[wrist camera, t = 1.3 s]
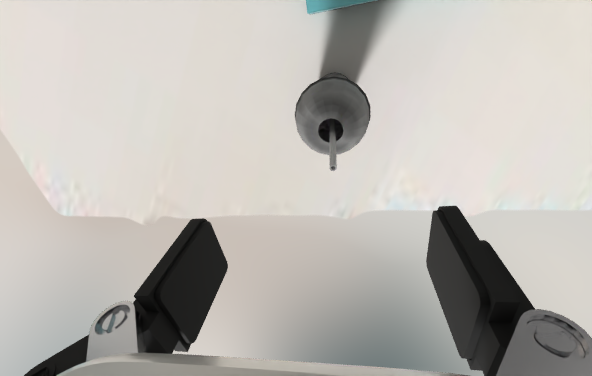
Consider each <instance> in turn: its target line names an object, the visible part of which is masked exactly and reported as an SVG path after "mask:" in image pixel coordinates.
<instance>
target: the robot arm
mask: <svg viewBox="0 0 592 376" xmlns="http://www.w3.org/2000/svg"><path fill="white" fill-rule="evenodd" d="M426 262H427V268H428V271H429V274H430V277H431V279H432V282H433V285H434V288H435V290H436V293H437V296H438V298H439V301H440V304H441V306H442V309H443V312H444V315H445V317H446V320H447V323H448V325H449V328H450V331H451V333H452V336H453V339H454V341H455V344H456V347H457V350H458V352H459V355H460V356H461V358H466V359H467V361H468V364H469V366H470V369H471V370H482V371H483V373H484V376H592V338H591V337H590V336H589V335H588V334H587V332H586V331H585V330H584V329H582V328H581V327H580V326H579V325H577V324H576V323H575V322H573V321H571V320H569V319H568V318H566V317H564V316H562V315H559V314H556V313H554V312H551V311H546V310H541V309H537V310H535V308H534V307H533V306H532V304H531V303H530V301H529V300H528V298H527V297H526V295H525V294H524V293H523V291H522V290H521V288H520V287H519V285H518V284H517V283H516V281H515V280H514V278H513V277H512V275H511V274H510V272H509V271H508V269H507V268H506V267H505V265H504V264H503V262H502V261H501V260H500V258H499V257H498V255H497V254H496V252H495V251H494V250H493V248H492V247H491V245H490V244H489V243H488V242H487V241H484V240H483V241H480V240H479V238H478V237H477V235H476V234H475V233H474V231H473V229H472V228H471V227H470V225H469V223H468V222H467V220H466V219H465V217H464V216H463V214H462V213H461V211H460V210H459V208H458V207H457V206H442V207H439V208H438V211H433V214H432V222H431V230H430V237H429V245H428V252H427V261H426ZM227 268H228V264H227V261H226V258H225V256H224V254H223V251H222V249H221V247H220V245H219V242H218V240H217V237H216V235H215V233H214V230H213V228H212V225H211V223H210V222H207V220H206V219H192V220H190V222H189V223H188V224H187V226H186V227H185V228H184V230H183V231H182V232H181V234H180V235H179V236H178V238H177V239H176V240H175V242H174V243H173V244H172V246H171V247H170V248H169V250H168V251H167V252H166V254H165V255H164V256H163V258H162V259H161V260H160V262H159V263H158V264H157V265H156V267H155V268H154V269H153V271H152V272H151V273H150V275H149V276H148V277H147V279H146V280H145V282H144V283H143V284H142V285H141V287H140V288H139V290H138V291H137V292H136V293H135V295H134V297H135V298H136V300H135V301H134V303H132V302H130V301H122V302H118V303H116V304H113V305H112V306H110V307H108V308H107V309H106V310H104V311H103V312H102V313H101V314H100V315H99V316H98V317H97V318H96V319H95V320H94V322H93V324H92V325H91V328H90V331H89V335H88V336H86V337H84V338H82V339H81V340H79V341H77V342H76V343H74V344H72V345H71V346H69V347H67V348H66V349H64V350H62V351H60V352H59V353H57V354H55V355H54V356H52V357H50V358H49V359H47V360H45V361H43V362H42V363H40V364H38V365H37V366H35V367H34V368H33V369H31V370H30V371H29V372H28V373H27V374H25V375H24V376H468V375H460V374H453V373H443V372H431V371H420V370H409V369H397V368H383V367H369V366H355V365H340V364H327V363H312V362H296V361H281V360H266V359H251V358H234V357H219V356H201V355H183V354H172V353H173V350H175V351H183V352H188V350H189V347H190V345H191V343H194V342H195V340H196V338H197V336H198V334H199V332H200V329H201V327H202V325H203V323H204V321H205V318H206V316H207V314H208V312H209V310H210V307H211V305H212V303H213V301H214V298H215V296H216V294H217V292H218V289H219V287H220V285H221V283H222V281H223V278H224V276H225V274H226V272H227Z"/></svg>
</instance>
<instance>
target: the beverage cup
mask: <svg viewBox="0 0 592 376" xmlns="http://www.w3.org/2000/svg"><path fill="white" fill-rule="evenodd" d="M295 119H296V125H297V130H298V133H299V135H300V136H301V138H302V140H303V141H304V142H305V143H306V144H307V145H308V146H309V147H310V148H311V149H313V150H315V151H316V152H318V153H321V154H327V155H330V170H331V171H335V170H336V168H337V165H336V154H341V153H344V152H346V151H349V150H350V149H351V148H353V147H354V146H355V145H357V144H358V143H359V142H360V140H361V139H362V137H363V136H364V134H365V133H366V130H367V127H368V124H369V121H370V104H369V102H368V99H367V96H366V94H365V93H364V92H363V90H362V89H361V88H360V87H359V86H358V85H357V84H355V83H354V82H352V81H350V80H348V78H347V77H345V76H344V75H342V74H339V73H331V74H328V75H326V76H324V77H323V78H321V79H320V80H318V81H316V82H314V83H312V84H310V85H309V86H308V87H307V88H306V89H305V90H304V91H303V92H302V94H301V96H300V98H299V100H298V102H297V104H296V111H295Z"/></svg>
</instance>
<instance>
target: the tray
mask: <svg viewBox="0 0 592 376" xmlns="http://www.w3.org/2000/svg"><path fill="white" fill-rule="evenodd" d="M373 1H378V0H306V4H307V12H308V14H315V13H320V12H324V11H329V10H334V9H339V8H344V7H349V6H354V5H359V4H363V3H368V2H373Z"/></svg>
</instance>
